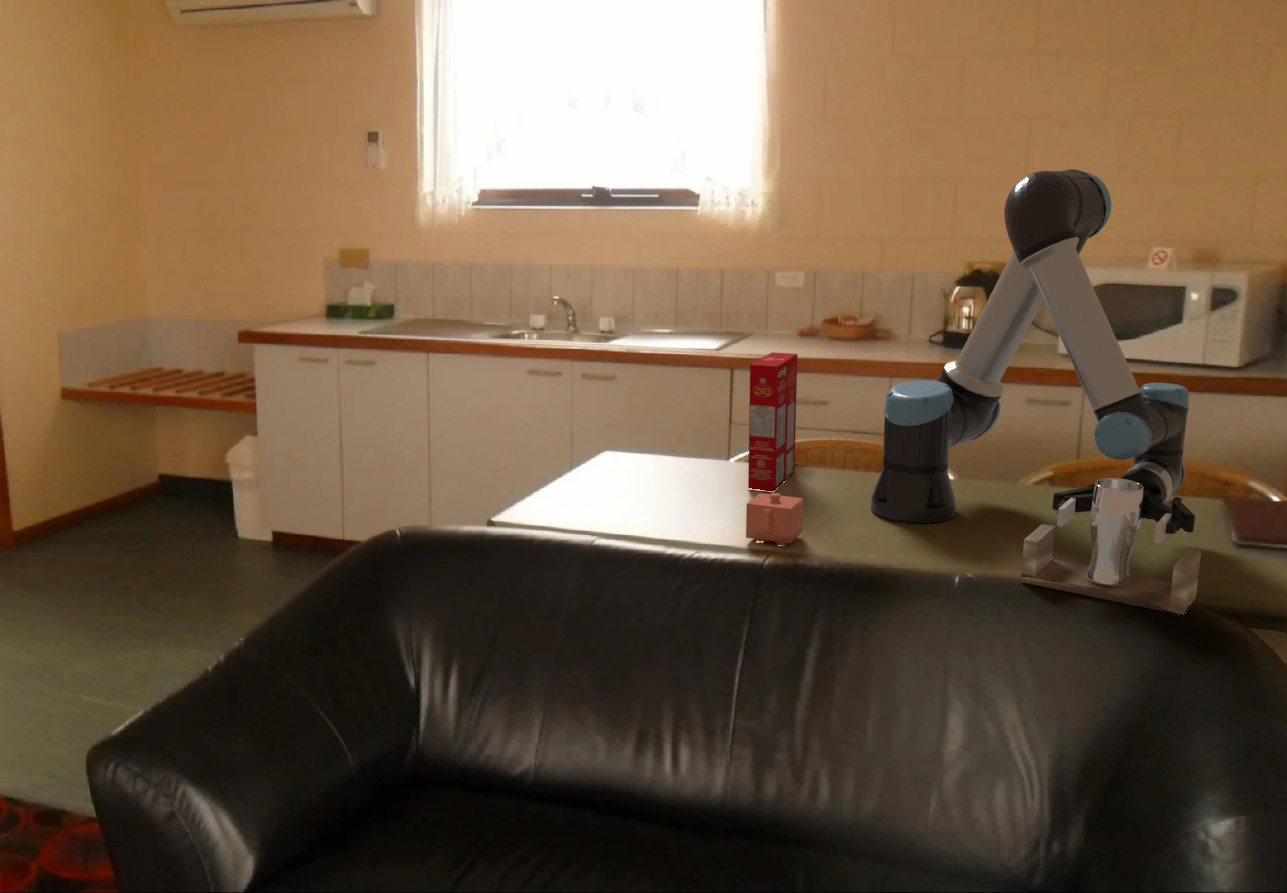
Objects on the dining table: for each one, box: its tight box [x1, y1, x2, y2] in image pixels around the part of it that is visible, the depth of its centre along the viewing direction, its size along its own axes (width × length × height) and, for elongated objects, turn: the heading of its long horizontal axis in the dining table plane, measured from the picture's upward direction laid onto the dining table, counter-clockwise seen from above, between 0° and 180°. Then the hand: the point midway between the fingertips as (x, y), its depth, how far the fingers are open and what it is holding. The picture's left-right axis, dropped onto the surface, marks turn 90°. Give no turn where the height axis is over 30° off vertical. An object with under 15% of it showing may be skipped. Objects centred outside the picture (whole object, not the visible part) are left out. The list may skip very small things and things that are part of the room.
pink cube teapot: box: [745, 492, 804, 546], centre depth 193 cm, size 8×12×8 cm, turn 155°
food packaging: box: [747, 352, 798, 491], centre depth 225 cm, size 15×5×25 cm, turn 157°
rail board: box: [1020, 523, 1202, 616], centre depth 170 cm, size 23×9×7 cm, turn 55°
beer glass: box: [1086, 477, 1144, 587], centre depth 168 cm, size 7×7×15 cm
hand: (1107, 525), depth 165 cm, fingers open, 13 cm apart
